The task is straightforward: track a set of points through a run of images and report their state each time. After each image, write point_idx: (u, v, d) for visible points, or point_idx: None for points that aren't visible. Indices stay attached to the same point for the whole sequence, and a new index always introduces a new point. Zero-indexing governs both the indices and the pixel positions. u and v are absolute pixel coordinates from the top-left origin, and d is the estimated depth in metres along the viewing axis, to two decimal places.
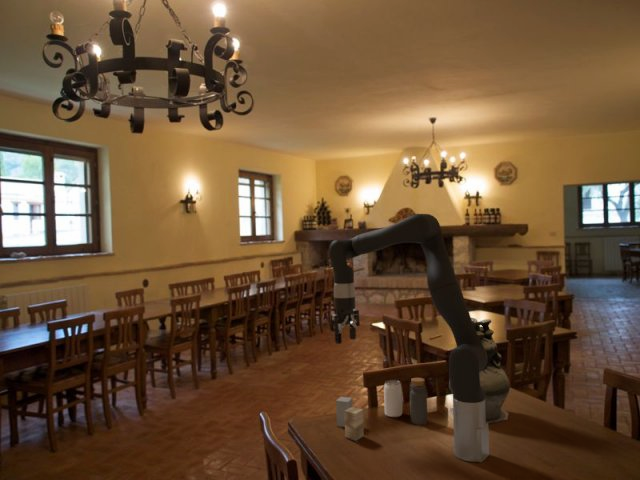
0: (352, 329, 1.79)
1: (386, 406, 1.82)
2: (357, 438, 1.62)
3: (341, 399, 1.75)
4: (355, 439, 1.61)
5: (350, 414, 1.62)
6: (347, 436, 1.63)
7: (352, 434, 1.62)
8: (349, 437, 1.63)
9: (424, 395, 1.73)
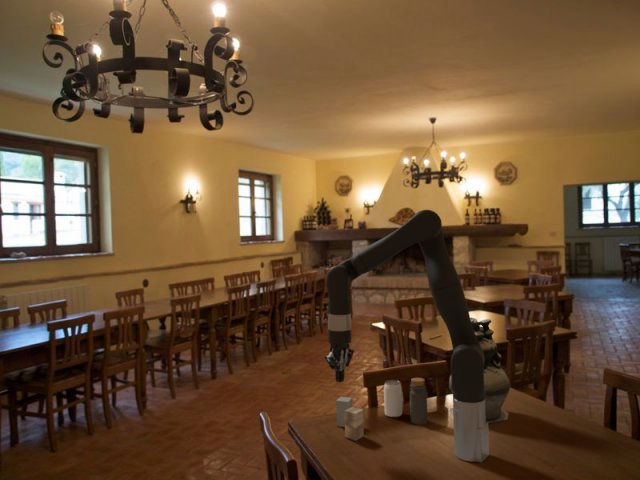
0: None
1: (386, 406, 1.82)
2: (357, 438, 1.62)
3: (341, 399, 1.75)
4: (355, 439, 1.61)
5: (350, 414, 1.62)
6: (347, 436, 1.63)
7: (352, 434, 1.62)
8: (349, 437, 1.63)
9: (424, 395, 1.73)
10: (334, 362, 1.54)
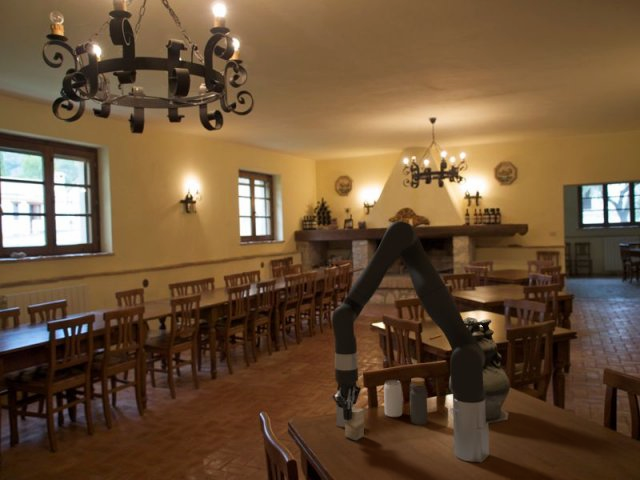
0: None
1: (386, 406, 1.82)
2: (357, 438, 1.62)
3: None
4: (355, 438, 1.61)
5: None
6: (347, 435, 1.63)
7: (352, 433, 1.62)
8: (349, 436, 1.63)
9: (424, 395, 1.73)
10: (342, 401, 1.57)
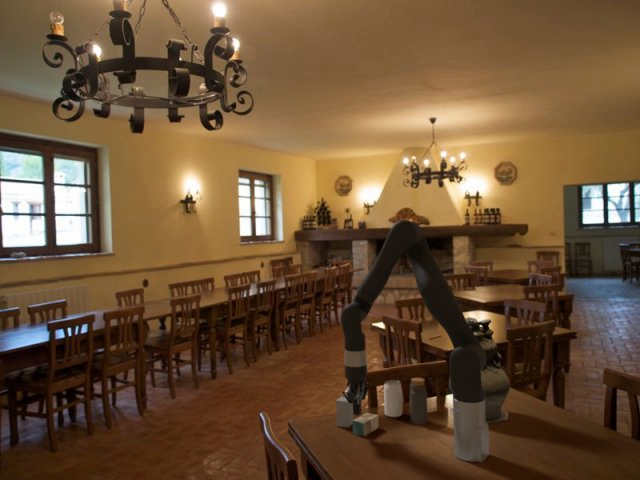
0: None
1: (386, 406, 1.82)
2: (364, 425, 1.65)
3: (341, 399, 1.75)
4: (363, 423, 1.65)
5: (372, 414, 1.72)
6: (356, 420, 1.67)
7: (362, 420, 1.67)
8: (357, 421, 1.67)
9: (424, 395, 1.73)
10: (351, 397, 1.61)
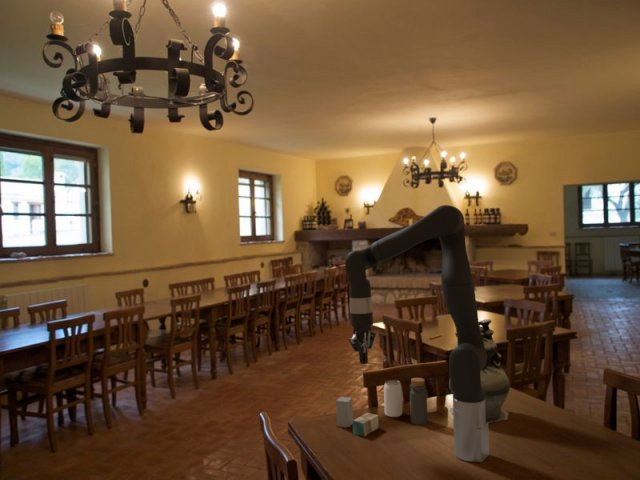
0: None
1: (386, 406, 1.82)
2: (364, 425, 1.65)
3: (341, 399, 1.75)
4: (363, 423, 1.65)
5: (372, 414, 1.72)
6: (356, 420, 1.67)
7: (362, 420, 1.67)
8: (357, 421, 1.67)
9: (424, 395, 1.73)
10: (358, 344, 1.59)
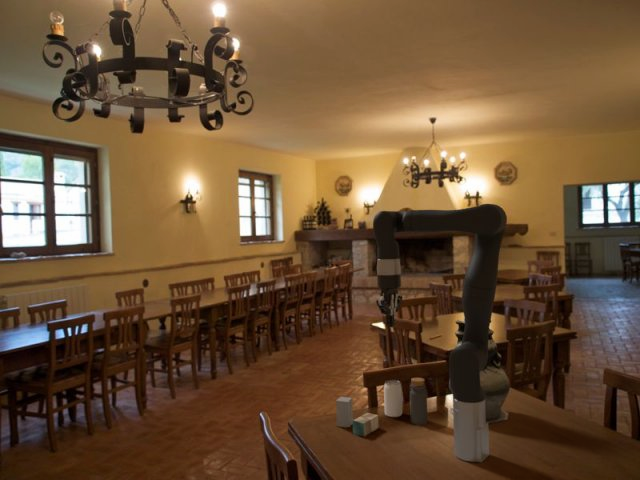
0: None
1: (386, 406, 1.82)
2: (364, 425, 1.65)
3: (341, 399, 1.75)
4: (363, 423, 1.65)
5: (372, 414, 1.72)
6: (356, 420, 1.67)
7: (362, 420, 1.67)
8: (357, 421, 1.67)
9: (424, 395, 1.73)
10: (385, 306, 1.56)
